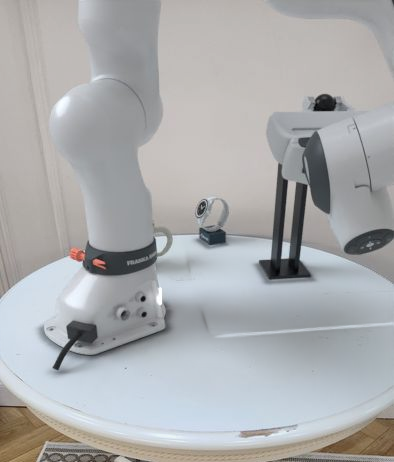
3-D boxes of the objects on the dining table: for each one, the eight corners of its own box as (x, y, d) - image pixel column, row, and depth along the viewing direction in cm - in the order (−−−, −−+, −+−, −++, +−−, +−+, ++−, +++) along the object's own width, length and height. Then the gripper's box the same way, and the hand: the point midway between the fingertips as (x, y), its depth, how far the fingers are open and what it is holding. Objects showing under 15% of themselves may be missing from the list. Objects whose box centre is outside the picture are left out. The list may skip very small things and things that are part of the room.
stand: (310, 279, 111) (329, 124, 95) (268, 282, 110) (280, 125, 94) (297, 262, 119) (313, 116, 103) (258, 265, 118) (268, 117, 102)
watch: (192, 241, 130) (191, 196, 124) (221, 236, 133) (222, 192, 127) (202, 249, 126) (202, 202, 120) (232, 243, 129) (233, 198, 123)
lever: (339, 113, 84) (338, 90, 84) (317, 114, 84) (316, 90, 83) (304, 142, 101) (303, 123, 101) (285, 143, 101) (285, 123, 100)
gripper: (417, 143, 78) (390, 82, 84) (281, 145, 76) (265, 82, 82) (399, 175, 84) (375, 116, 90) (272, 179, 81) (257, 117, 88)
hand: (322, 100), depth 86 cm, fingers closed on lever, 3 cm apart
